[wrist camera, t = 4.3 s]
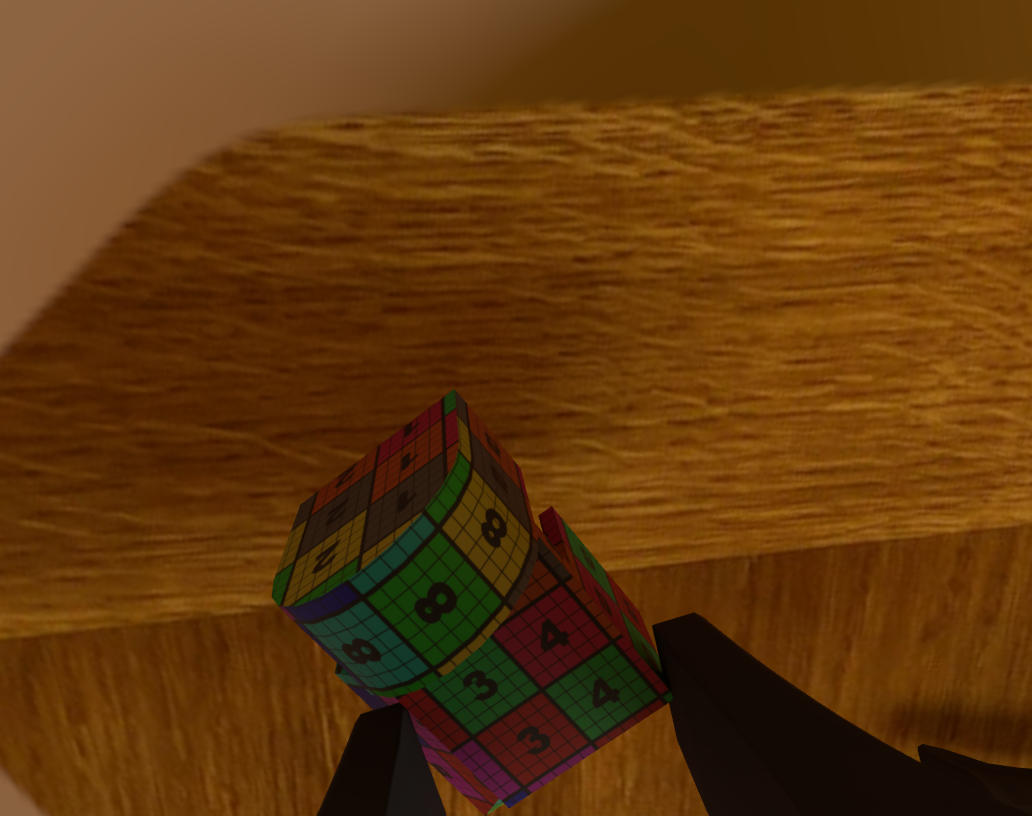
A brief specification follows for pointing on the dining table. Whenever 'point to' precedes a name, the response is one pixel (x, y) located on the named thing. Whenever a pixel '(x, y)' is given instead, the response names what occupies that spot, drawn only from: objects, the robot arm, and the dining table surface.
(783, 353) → the dining table surface
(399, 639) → the block
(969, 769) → the knife
